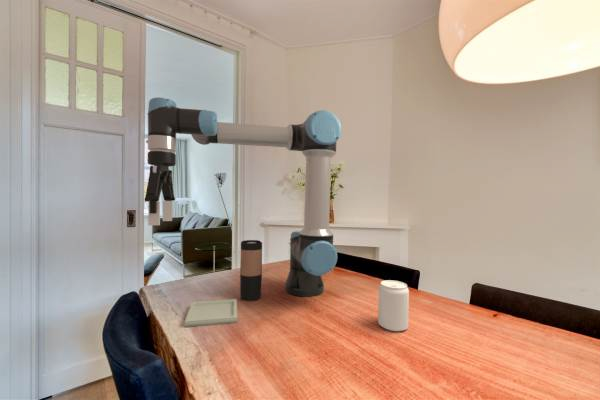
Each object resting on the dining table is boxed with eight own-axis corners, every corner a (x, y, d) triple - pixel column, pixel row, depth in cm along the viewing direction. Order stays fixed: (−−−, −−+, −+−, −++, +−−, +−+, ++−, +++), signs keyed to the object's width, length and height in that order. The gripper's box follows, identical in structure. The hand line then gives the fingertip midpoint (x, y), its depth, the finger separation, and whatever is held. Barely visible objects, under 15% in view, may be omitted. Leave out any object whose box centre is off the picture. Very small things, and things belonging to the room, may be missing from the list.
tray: (236, 303, 91) (236, 299, 91) (237, 322, 78) (237, 317, 78) (192, 307, 88) (192, 302, 88) (184, 327, 74) (184, 321, 74)
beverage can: (407, 322, 80) (408, 281, 80) (408, 335, 72) (409, 290, 72) (378, 317, 82) (379, 278, 82) (377, 329, 75) (378, 286, 75)
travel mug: (235, 299, 95) (236, 242, 95) (247, 292, 102) (248, 239, 102) (254, 302, 92) (255, 244, 92) (265, 295, 99) (266, 240, 99)
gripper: (160, 157, 93) (160, 219, 93) (131, 143, 68) (130, 227, 69) (184, 158, 94) (183, 219, 95) (163, 145, 70) (162, 227, 70)
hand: (161, 223), depth 82 cm, fingers open, 13 cm apart
